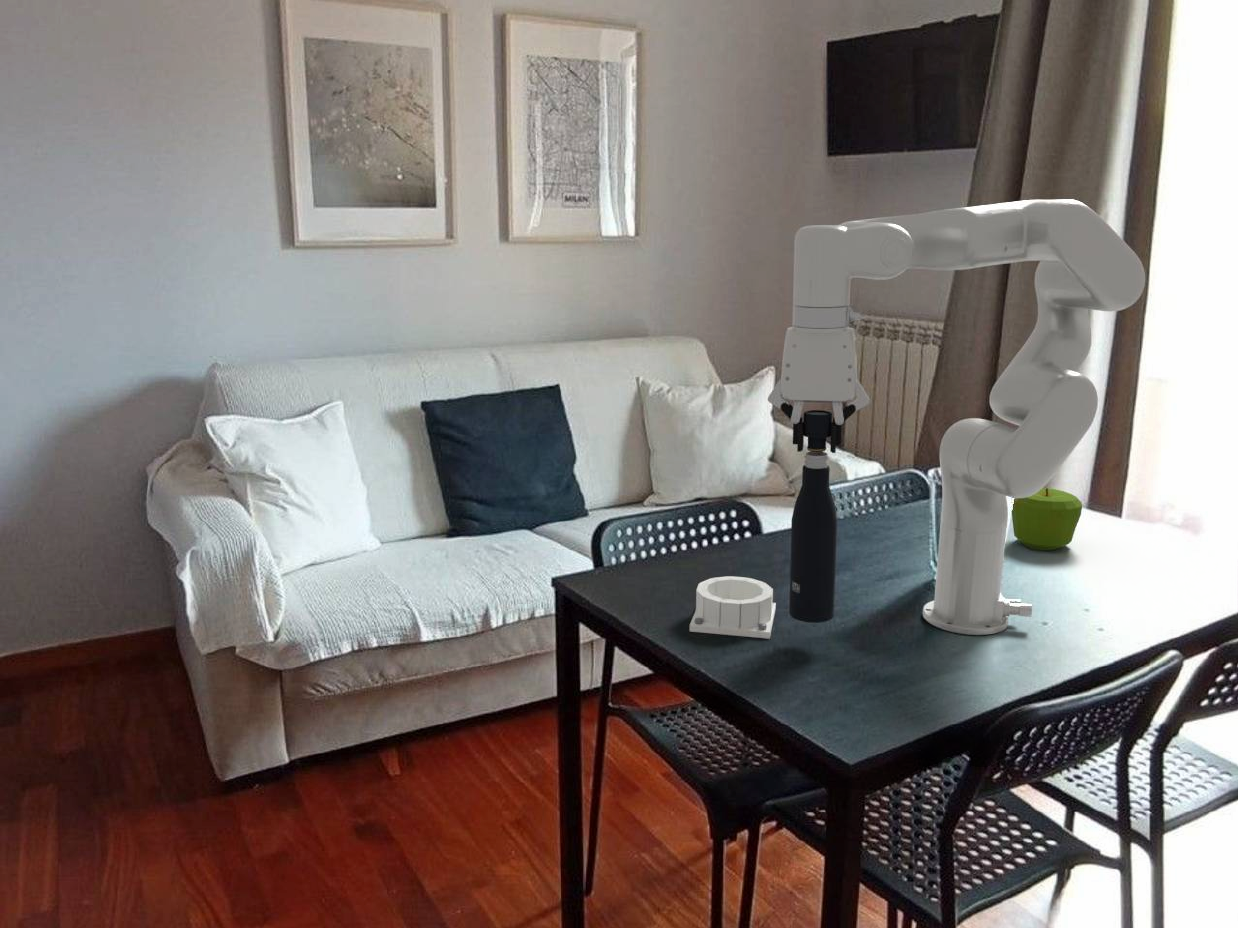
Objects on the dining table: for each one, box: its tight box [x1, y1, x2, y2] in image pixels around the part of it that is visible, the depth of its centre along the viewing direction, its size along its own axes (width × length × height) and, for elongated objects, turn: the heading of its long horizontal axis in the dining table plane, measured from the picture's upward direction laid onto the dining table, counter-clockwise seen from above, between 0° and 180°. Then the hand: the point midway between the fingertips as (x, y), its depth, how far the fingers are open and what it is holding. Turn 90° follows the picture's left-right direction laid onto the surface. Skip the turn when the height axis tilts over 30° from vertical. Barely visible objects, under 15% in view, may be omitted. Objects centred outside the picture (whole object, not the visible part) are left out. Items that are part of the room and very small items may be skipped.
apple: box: [1011, 487, 1083, 551], centre depth 195 cm, size 12×12×11 cm
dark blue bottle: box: [788, 409, 838, 624], centre depth 146 cm, size 6×6×30 cm
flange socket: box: [689, 575, 777, 640], centre depth 159 cm, size 12×12×5 cm
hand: (816, 448), depth 144 cm, fingers closed on dark blue bottle, 3 cm apart
